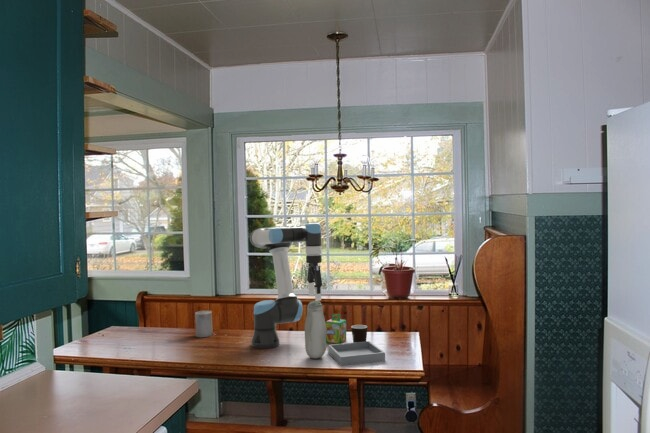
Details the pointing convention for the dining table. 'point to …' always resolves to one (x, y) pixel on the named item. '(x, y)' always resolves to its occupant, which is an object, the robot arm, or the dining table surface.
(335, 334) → the chalk box
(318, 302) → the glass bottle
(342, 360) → the tray
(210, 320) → the pillar candle
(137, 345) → the dining table surface
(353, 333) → the coffee mug
